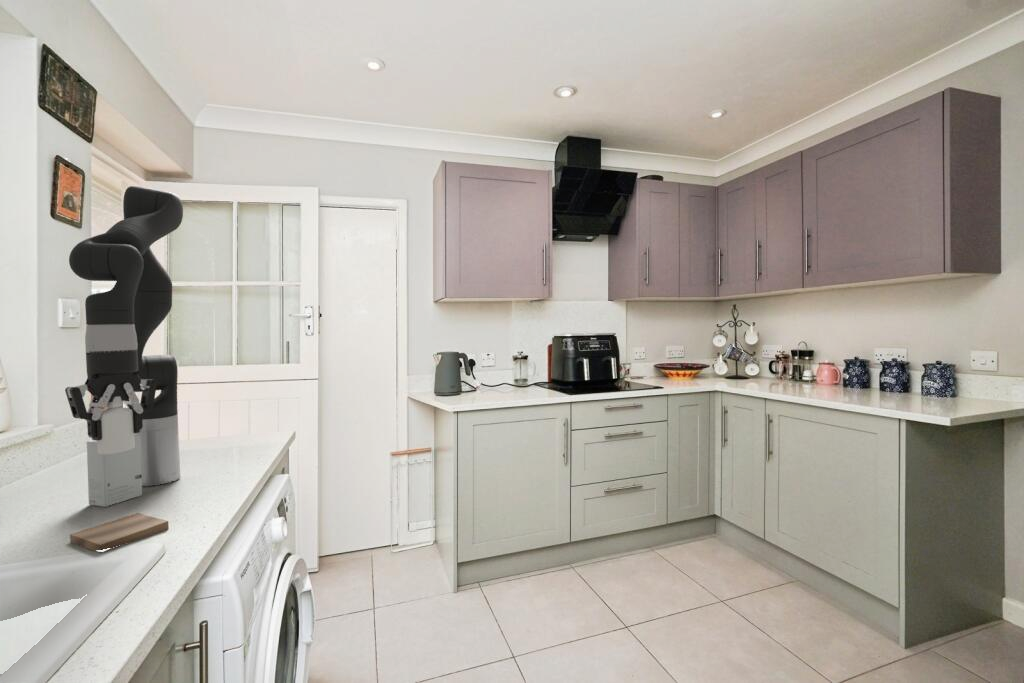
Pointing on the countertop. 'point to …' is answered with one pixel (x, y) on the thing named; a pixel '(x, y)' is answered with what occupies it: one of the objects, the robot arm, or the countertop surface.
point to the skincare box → (113, 475)
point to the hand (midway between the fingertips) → (116, 435)
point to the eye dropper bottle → (116, 429)
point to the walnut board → (119, 531)
